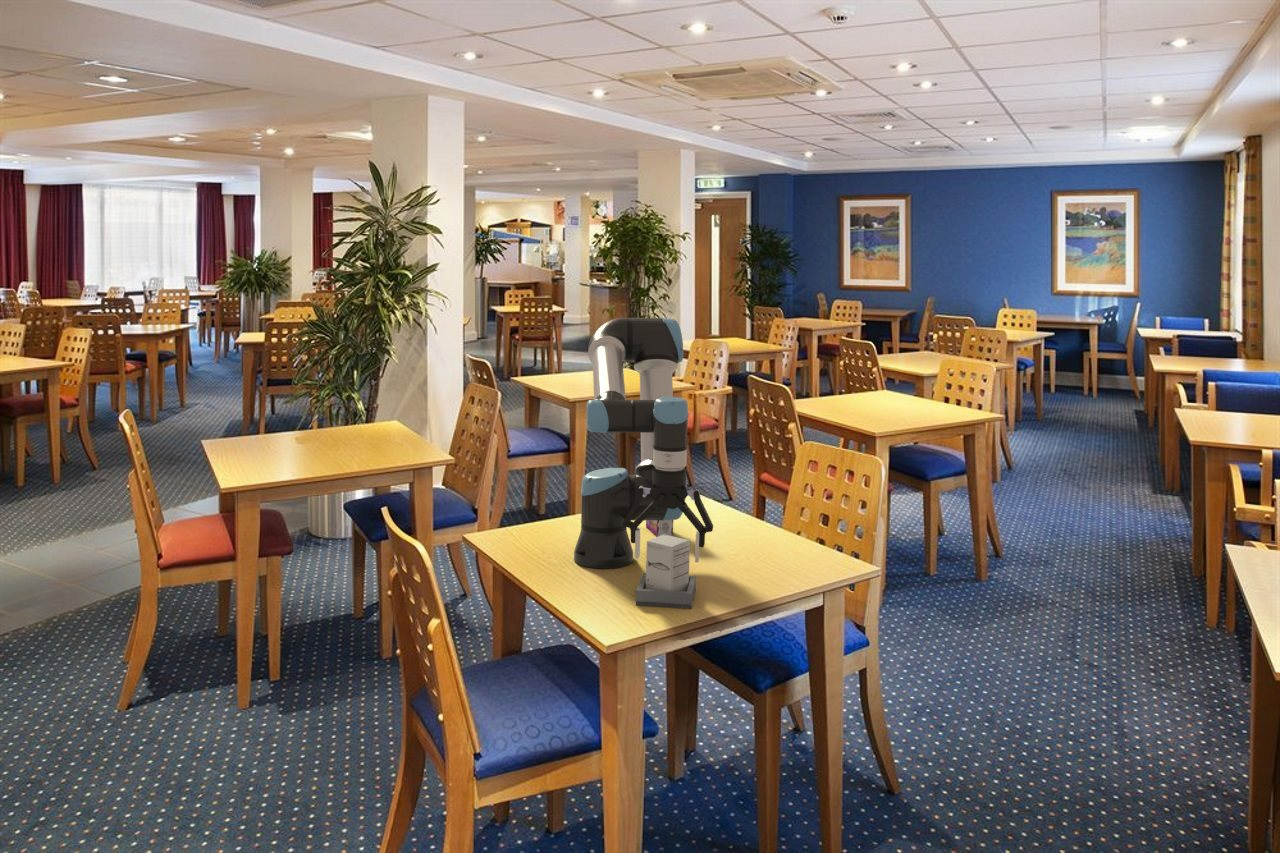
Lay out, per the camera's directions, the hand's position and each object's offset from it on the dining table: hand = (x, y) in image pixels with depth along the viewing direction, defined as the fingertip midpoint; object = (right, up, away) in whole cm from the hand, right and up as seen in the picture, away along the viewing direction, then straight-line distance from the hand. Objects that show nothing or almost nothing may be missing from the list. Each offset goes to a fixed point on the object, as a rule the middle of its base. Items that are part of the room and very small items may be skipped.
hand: (667, 558), depth 213 cm
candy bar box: (-1, 0, +55) cm, 55 cm away
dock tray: (0, -9, +1) cm, 9 cm away
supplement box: (0, -8, +1) cm, 8 cm away
